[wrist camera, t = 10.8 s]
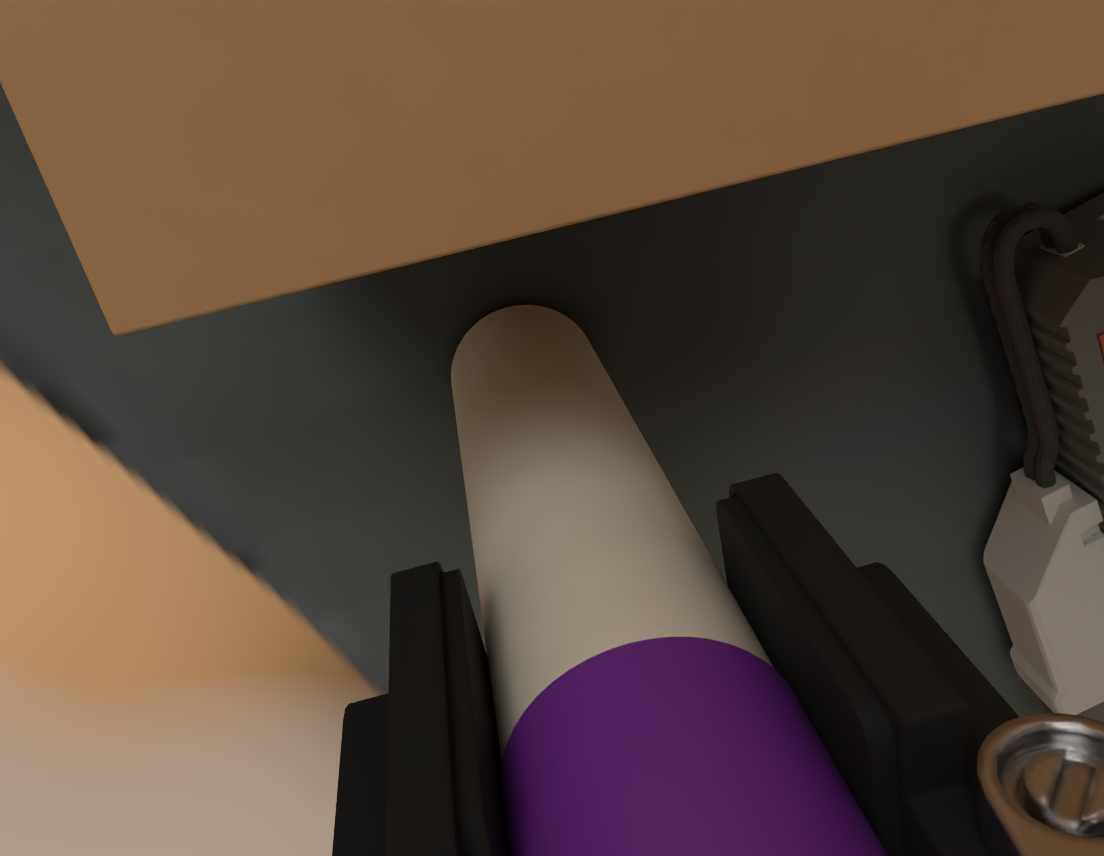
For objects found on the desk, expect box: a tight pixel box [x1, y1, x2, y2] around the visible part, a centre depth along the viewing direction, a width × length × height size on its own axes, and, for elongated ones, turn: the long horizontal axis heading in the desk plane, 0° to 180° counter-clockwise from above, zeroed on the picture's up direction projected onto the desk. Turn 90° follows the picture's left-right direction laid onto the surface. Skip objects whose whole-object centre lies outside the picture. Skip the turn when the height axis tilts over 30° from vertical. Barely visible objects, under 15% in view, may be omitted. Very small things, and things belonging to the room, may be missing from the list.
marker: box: [451, 305, 888, 856], centre depth 12 cm, size 3×3×14 cm
